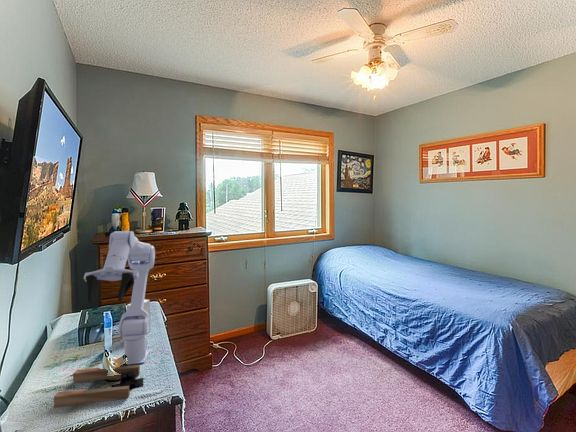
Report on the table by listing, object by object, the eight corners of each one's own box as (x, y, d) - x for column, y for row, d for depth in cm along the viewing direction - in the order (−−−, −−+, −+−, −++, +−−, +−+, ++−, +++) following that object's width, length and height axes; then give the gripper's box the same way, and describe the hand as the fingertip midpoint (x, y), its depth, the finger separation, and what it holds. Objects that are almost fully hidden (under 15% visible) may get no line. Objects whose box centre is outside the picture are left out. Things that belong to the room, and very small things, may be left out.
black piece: (104, 399, 94) (104, 385, 94) (106, 386, 101) (105, 372, 101) (149, 388, 100) (148, 374, 100) (148, 376, 106) (147, 363, 106)
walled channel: (75, 379, 103) (75, 370, 103) (139, 372, 107) (139, 363, 107) (53, 407, 90) (53, 396, 90) (128, 398, 94) (127, 387, 94)
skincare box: (140, 329, 142) (139, 298, 141) (151, 331, 140) (150, 299, 139) (126, 337, 134) (125, 304, 133) (138, 339, 132) (137, 305, 131)
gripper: (86, 254, 92) (71, 294, 83) (138, 252, 95) (129, 291, 86) (93, 268, 97) (79, 307, 88) (142, 266, 100) (134, 303, 91)
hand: (104, 300), depth 87 cm, fingers open, 7 cm apart
